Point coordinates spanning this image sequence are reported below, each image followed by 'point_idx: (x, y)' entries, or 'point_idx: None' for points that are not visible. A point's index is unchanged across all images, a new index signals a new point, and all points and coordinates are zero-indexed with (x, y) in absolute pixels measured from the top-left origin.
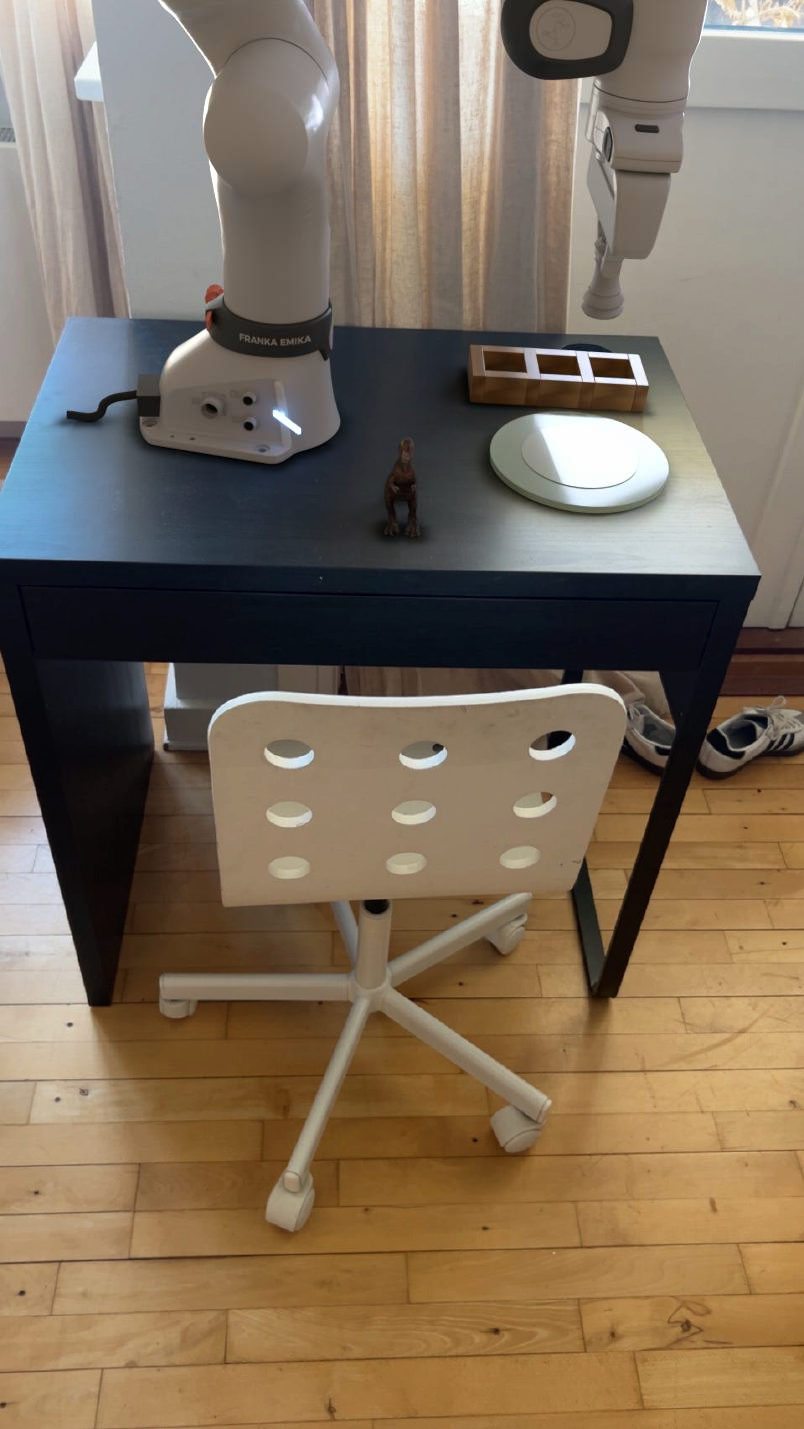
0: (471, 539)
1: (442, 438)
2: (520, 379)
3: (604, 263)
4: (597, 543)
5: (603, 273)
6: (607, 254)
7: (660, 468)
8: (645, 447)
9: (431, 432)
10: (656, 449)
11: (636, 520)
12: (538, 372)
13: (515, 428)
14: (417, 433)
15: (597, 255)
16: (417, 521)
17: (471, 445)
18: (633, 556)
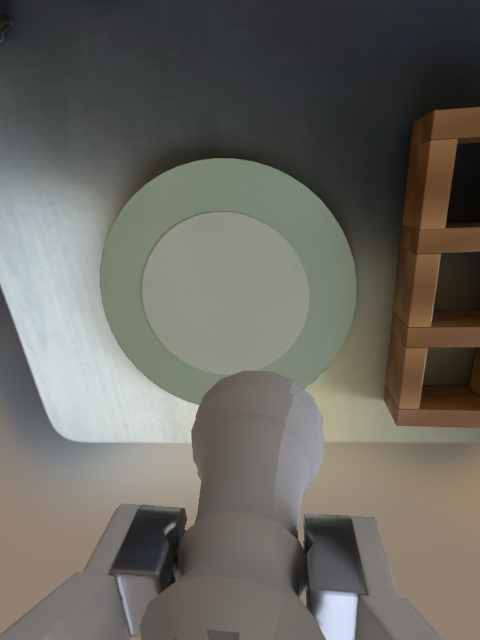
0: (11, 132)
1: (278, 69)
2: (420, 214)
3: (90, 557)
4: (56, 302)
5: (114, 516)
6: (22, 621)
7: None
8: None
9: (297, 44)
10: None
11: (116, 352)
12: (445, 251)
13: (294, 204)
14: (291, 14)
15: (238, 539)
16: (2, 34)
17: (261, 127)
18: (45, 339)
